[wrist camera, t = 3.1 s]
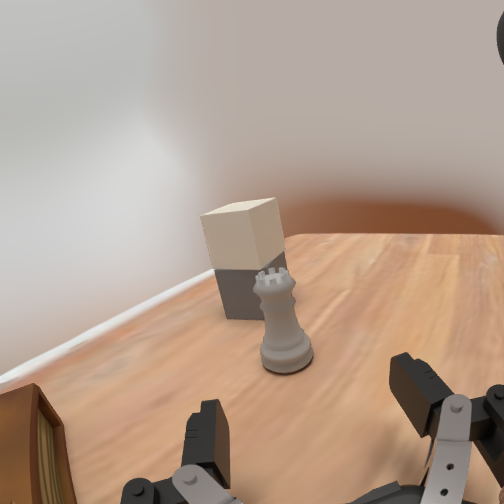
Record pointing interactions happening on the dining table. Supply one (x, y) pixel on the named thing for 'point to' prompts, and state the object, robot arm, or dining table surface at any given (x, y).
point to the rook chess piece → (281, 324)
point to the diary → (32, 450)
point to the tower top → (244, 234)
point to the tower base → (244, 290)
